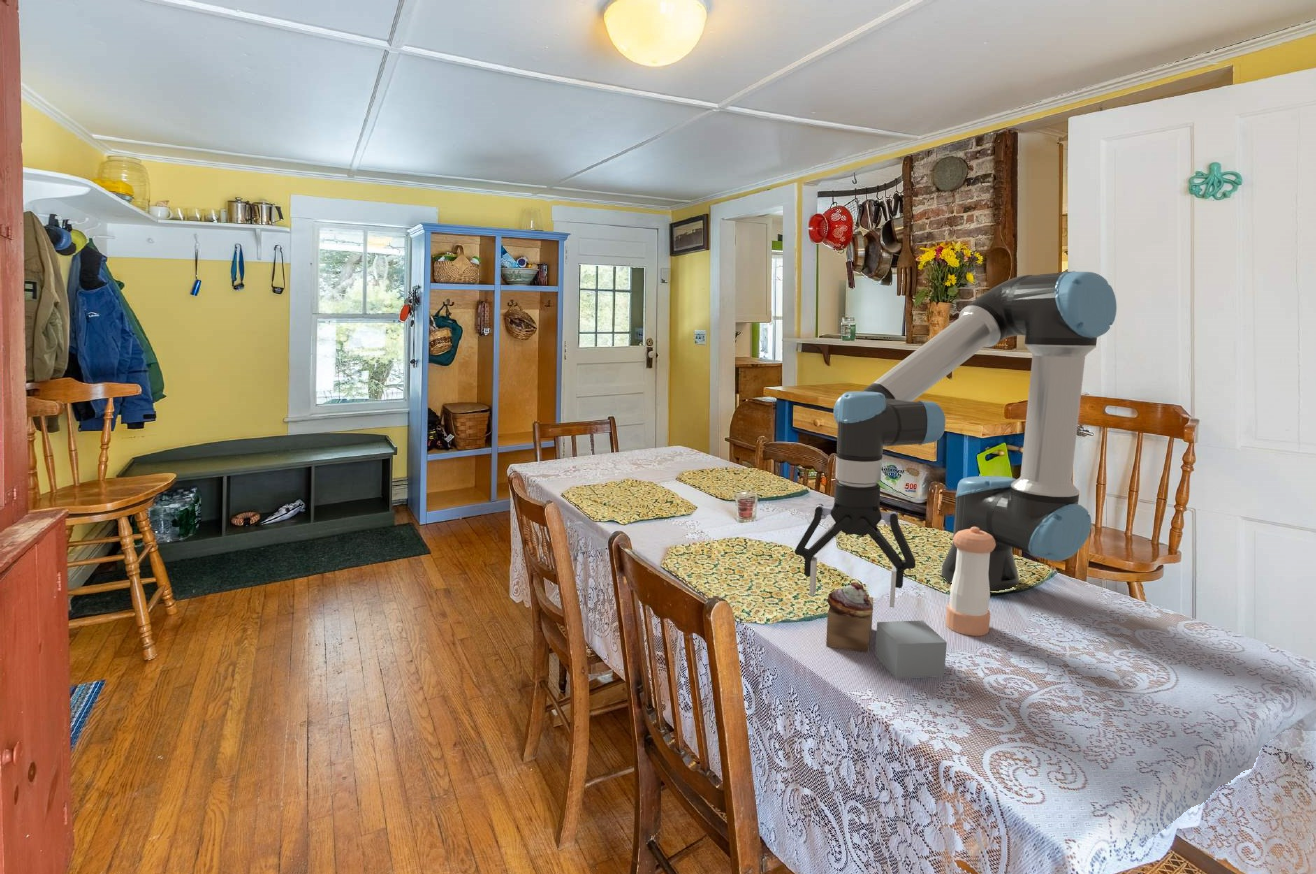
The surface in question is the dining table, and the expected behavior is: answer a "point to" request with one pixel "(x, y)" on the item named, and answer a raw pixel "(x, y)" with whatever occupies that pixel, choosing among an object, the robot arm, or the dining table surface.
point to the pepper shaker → (970, 583)
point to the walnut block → (849, 631)
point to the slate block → (910, 649)
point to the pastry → (851, 601)
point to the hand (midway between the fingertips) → (851, 598)
